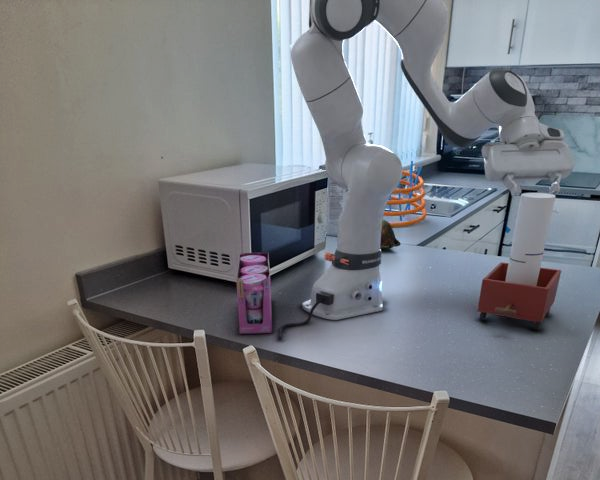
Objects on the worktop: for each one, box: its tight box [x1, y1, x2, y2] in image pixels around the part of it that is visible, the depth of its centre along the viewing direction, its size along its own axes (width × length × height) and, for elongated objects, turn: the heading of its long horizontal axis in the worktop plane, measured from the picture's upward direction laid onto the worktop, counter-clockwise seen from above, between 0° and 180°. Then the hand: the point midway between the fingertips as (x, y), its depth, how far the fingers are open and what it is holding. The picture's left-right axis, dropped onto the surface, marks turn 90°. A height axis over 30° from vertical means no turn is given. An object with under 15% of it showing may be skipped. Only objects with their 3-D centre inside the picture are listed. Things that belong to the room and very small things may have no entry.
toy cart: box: [477, 262, 562, 332], centre depth 129 cm, size 22×15×11 cm, turn 148°
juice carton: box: [318, 163, 348, 237], centre depth 209 cm, size 9×10×27 cm
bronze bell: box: [380, 218, 402, 251], centre depth 190 cm, size 17×11×18 cm
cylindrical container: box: [505, 192, 556, 286], centre depth 126 cm, size 7×7×25 cm
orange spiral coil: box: [383, 160, 428, 228], centre depth 232 cm, size 34×35×24 cm
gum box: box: [236, 251, 273, 335], centre depth 133 cm, size 24×8×14 cm, turn 3°
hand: (536, 193), depth 120 cm, fingers open, 8 cm apart
